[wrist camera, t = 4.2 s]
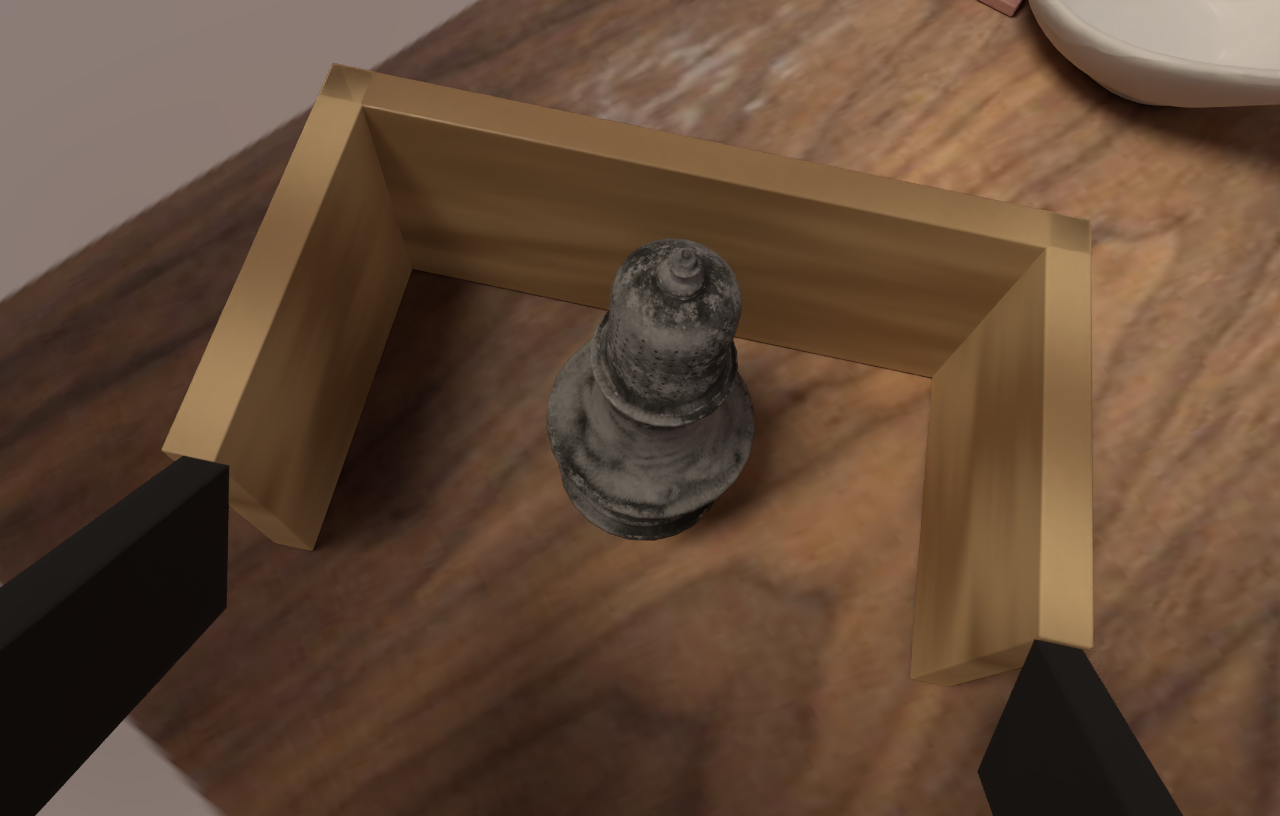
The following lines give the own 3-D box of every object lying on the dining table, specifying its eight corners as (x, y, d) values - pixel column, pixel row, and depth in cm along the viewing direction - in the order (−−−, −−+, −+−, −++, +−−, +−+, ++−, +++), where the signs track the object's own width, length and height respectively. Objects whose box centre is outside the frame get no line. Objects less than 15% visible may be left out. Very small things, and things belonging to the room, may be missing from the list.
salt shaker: (623, 588, 27) (659, 450, 16) (512, 439, 28) (474, 218, 17) (771, 479, 28) (897, 284, 17) (659, 343, 30) (709, 87, 19)
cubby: (949, 687, 26) (1095, 649, 19) (274, 543, 27) (159, 450, 19) (967, 354, 31) (1092, 219, 23) (388, 233, 31) (332, 61, 24)
